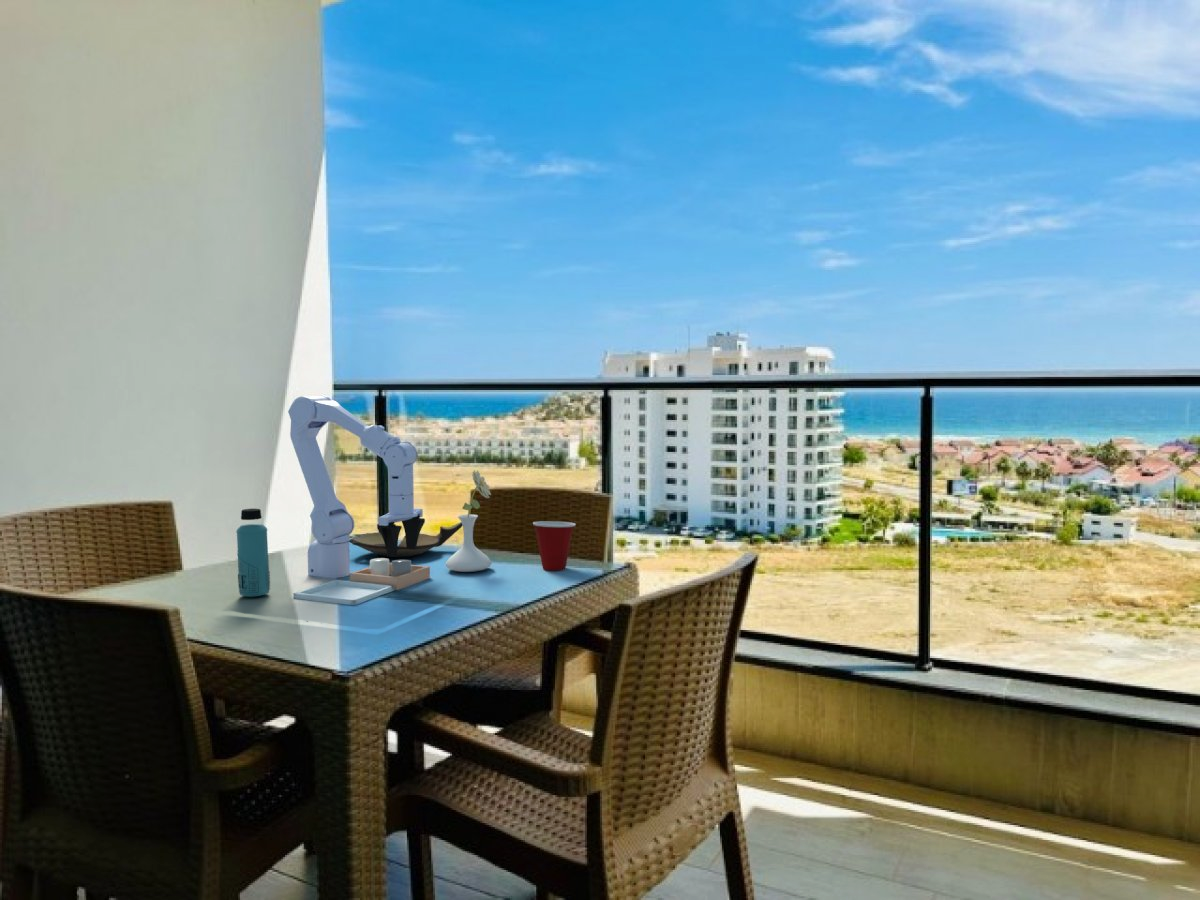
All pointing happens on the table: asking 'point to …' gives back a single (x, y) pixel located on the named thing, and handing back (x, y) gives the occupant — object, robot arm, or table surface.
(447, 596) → the table surface
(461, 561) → the flower in vase
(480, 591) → the table surface
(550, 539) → the plastic cup
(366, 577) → the terracotta dish
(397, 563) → the grey plastic cylinder
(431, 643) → the table surface
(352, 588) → the parts tray
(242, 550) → the beverage bottle
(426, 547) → the dark brown curved bowl
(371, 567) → the pale grey cylinder
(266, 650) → the table surface
